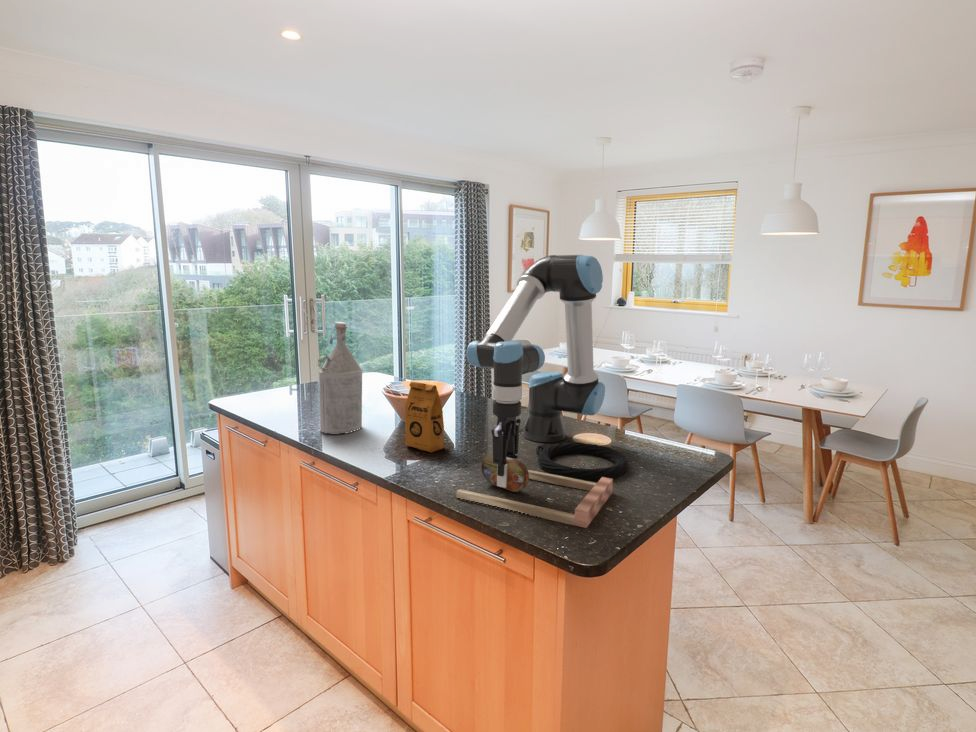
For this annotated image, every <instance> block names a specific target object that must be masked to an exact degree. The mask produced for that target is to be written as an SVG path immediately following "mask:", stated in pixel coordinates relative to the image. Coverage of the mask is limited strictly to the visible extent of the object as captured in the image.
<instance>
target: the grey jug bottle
mask: <svg viewBox="0 0 976 732" xmlns="http://www.w3.org/2000/svg"><path fill="white" fill-rule="evenodd" d="M347 325H348V324H347V323H346V322H345V321H335V322H334V328H333V332H331V333H330V334H331V335H330V339H329V341H328V342H329V344H330V345H333V342H334V341H333V340H335V339H336V344H335V346H334V347H333V349H332V351H331V352H330V354H329V355H321V356H320V357H319V358H318V360H317V366H318V367H319V368H320V369H319V371H318V375H319V376H318V379H319V380H318V381H319V382H318V385H319V388H318V389H319V423H320V425H319V426H320V430H319V431H320V432H321V433H323V432H324V433H323V434H327V433H331V434H330V435H340V434H339V433H345V434H347V433H346V432H350V433H352V432H351V431H354V430H357V429H359V428H361V429H362V427H363V423H362V422H363V421H362V420H363V417H362V416H363V369H362V368H361V366H360V365H359V363H358V362H357V360H356V359H355V357H354V356H353V354H352V352H351V351H350V350H349V348H348V346H347V344H346V340H347V337H346V334H347V333H346V332H347V329H348V327H347ZM334 330H336V333H335V331H334ZM333 334H334V335H335V337H333ZM323 358H326V360H325V361H324V363H323V364H322V360H323ZM359 430H360V429H359ZM357 431H358V430H357ZM354 432H355V431H354Z"/></svg>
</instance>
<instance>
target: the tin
mask: <svg viewBox="0 0 976 732" xmlns="http://www.w3.org/2000/svg"><path fill="white" fill-rule="evenodd" d="M506 464H508V469H507V487H506V488H504V487H500V486H497V464H495V463H493V453H492V454H491V455H489V454H488V455H486V456H485V457H484V458H483V459H482V461H481V466H480V467H481V468H480V469H481V473H482V475H483V476H482V477H483V478H484V480H486V482H487V483H489V484H490V485H492V486H495V487H499V488H500V489H504V490H507V491H510V492H513V493H516V492H517V493H518V492H520V491H521V490H524V488H525V489H526V487H527V486H528V484H529V481H530V479H529V473H528V470H529V469H528V468H527V466H526V465H525V464H524V463H523V462H522V461H521V460H519V459H512V458H509V457H507V458H506Z"/></svg>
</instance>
